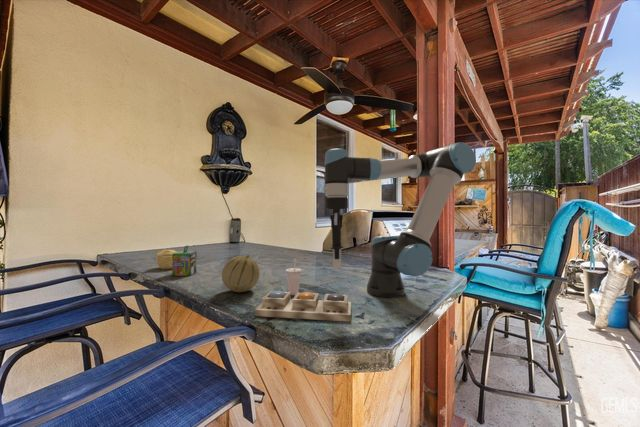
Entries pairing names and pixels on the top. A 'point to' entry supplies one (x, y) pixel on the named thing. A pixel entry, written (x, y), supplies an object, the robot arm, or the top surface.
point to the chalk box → (184, 263)
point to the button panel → (304, 308)
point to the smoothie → (293, 279)
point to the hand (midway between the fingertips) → (337, 268)
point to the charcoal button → (335, 297)
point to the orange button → (306, 295)
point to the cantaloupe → (240, 274)
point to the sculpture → (165, 259)
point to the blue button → (277, 294)
